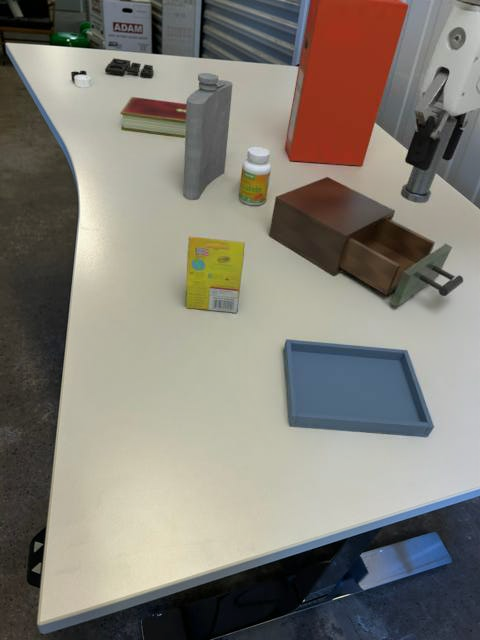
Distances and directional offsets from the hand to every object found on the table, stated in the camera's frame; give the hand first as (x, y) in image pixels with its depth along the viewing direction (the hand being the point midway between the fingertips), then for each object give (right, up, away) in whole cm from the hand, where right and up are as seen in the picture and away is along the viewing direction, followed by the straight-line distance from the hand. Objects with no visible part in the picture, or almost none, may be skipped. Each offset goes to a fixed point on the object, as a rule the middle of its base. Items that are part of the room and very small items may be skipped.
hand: (428, 159), depth 62 cm
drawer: (+1, -14, +16) cm, 21 cm away
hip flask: (-32, +7, +35) cm, 48 cm away
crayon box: (-28, -19, +7) cm, 35 cm away
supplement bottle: (-22, +3, +32) cm, 39 cm away
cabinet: (-9, -7, +23) cm, 26 cm away
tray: (-11, -29, -3) cm, 31 cm away
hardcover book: (-41, +26, +55) cm, 74 cm away
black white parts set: (-61, +50, +79) cm, 111 cm away
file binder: (-5, +18, +52) cm, 55 cm away
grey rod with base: (-1, -4, +3) cm, 5 cm away
